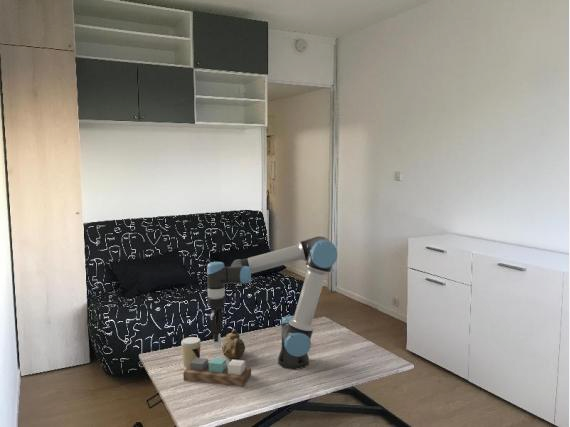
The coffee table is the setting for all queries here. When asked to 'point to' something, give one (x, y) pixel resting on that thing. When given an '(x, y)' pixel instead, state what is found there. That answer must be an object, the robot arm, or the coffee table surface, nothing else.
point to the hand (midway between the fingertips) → (217, 347)
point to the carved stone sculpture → (233, 346)
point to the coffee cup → (190, 350)
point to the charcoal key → (199, 364)
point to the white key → (236, 367)
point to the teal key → (217, 365)
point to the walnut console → (217, 376)
